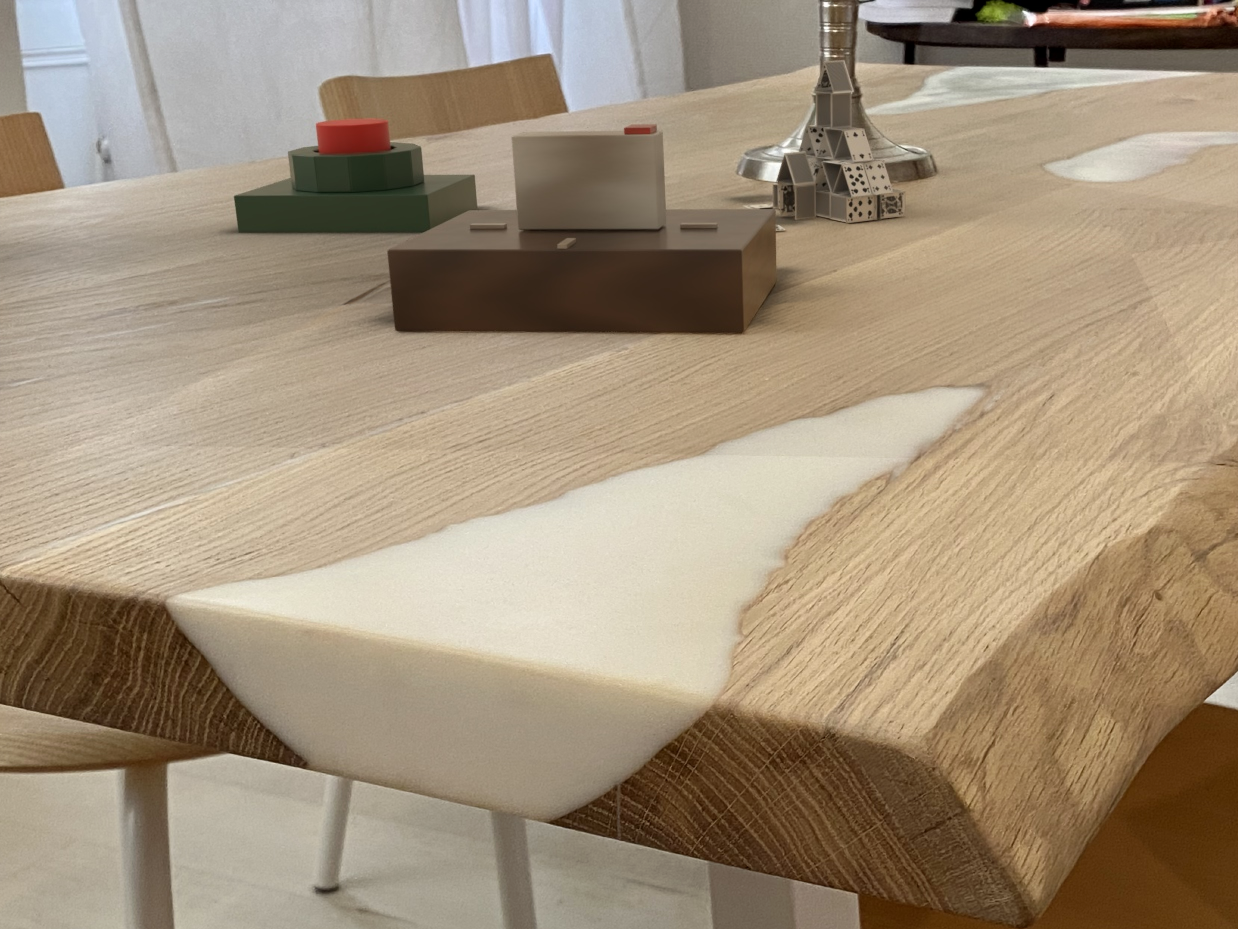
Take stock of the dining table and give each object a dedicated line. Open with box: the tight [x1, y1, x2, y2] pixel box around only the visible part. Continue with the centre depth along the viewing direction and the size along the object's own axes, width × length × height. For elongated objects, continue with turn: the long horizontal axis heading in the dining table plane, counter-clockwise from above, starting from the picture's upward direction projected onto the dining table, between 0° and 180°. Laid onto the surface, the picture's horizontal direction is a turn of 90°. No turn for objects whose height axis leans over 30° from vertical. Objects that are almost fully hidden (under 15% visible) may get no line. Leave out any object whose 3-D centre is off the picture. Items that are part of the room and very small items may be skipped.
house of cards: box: [743, 59, 906, 232], centre depth 84 cm, size 9×9×8 cm
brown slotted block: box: [386, 208, 778, 334], centre depth 63 cm, size 13×10×3 cm
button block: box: [233, 141, 478, 234], centre depth 83 cm, size 10×8×4 cm
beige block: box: [511, 123, 667, 230], centre depth 62 cm, size 6×2×4 cm, turn 82°
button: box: [315, 118, 391, 153], centre depth 83 cm, size 4×4×2 cm
